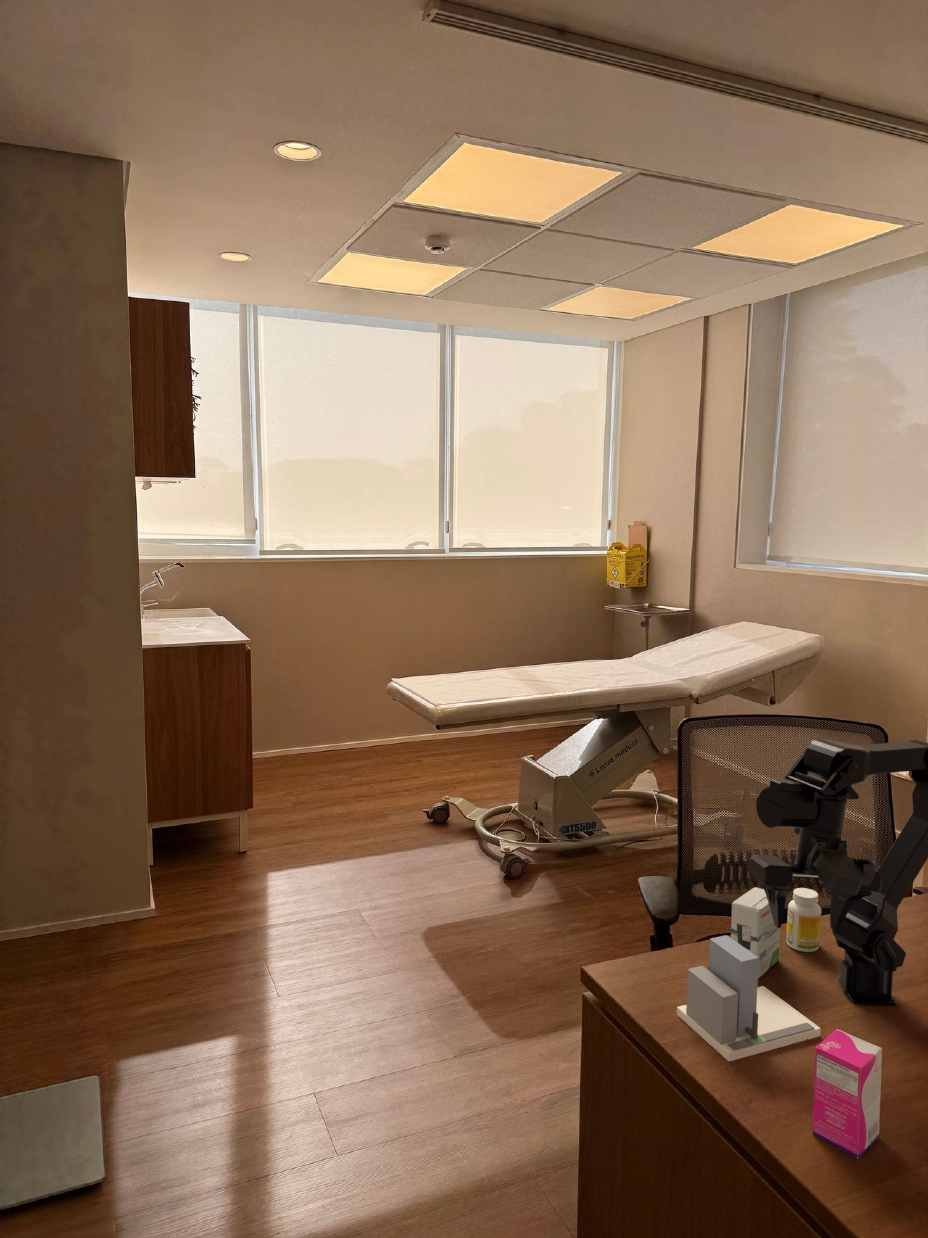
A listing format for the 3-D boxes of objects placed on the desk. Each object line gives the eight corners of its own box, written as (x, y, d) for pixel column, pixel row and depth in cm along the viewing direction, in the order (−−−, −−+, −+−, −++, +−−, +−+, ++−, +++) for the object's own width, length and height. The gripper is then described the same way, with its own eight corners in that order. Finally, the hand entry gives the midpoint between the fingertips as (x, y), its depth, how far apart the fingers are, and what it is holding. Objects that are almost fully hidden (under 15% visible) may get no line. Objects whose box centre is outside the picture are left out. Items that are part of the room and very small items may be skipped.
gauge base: (762, 993, 135) (765, 943, 134) (820, 1036, 124) (823, 982, 123) (676, 1014, 129) (678, 962, 128) (728, 1061, 118) (731, 1005, 117)
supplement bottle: (780, 944, 150) (782, 891, 149) (796, 934, 154) (799, 883, 152) (809, 956, 146) (812, 902, 145) (825, 946, 149) (828, 893, 148)
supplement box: (832, 1112, 108) (837, 1026, 107) (880, 1138, 104) (886, 1049, 102) (809, 1134, 104) (814, 1045, 103) (858, 1161, 100) (864, 1069, 98)
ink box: (752, 950, 148) (755, 884, 146) (780, 961, 145) (783, 893, 143) (727, 969, 142) (730, 901, 140) (756, 981, 138) (759, 910, 137)
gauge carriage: (723, 1005, 129) (726, 935, 127) (764, 1038, 121) (768, 964, 119) (707, 1009, 128) (709, 938, 126) (747, 1043, 120) (750, 968, 118)
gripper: (793, 841, 118) (777, 952, 119) (914, 849, 121) (897, 956, 122) (752, 815, 129) (738, 917, 130) (865, 823, 132) (849, 922, 133)
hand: (805, 928), depth 128 cm, fingers open, 9 cm apart
